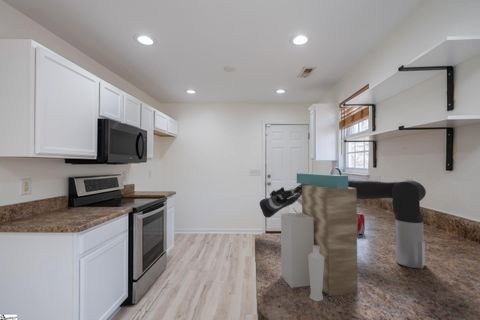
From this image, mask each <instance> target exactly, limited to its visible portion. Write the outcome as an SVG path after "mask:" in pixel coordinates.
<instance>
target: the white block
mask: <svg viewBox="0 0 480 320" xmlns="http://www.w3.org/2000/svg"><path fill="white" fill-rule="evenodd" d="M280 221H281V222H280V224H281V225H280V229H281V230H280V232H281V233H280V236H281V240H280V245H281V246H280V247H281V249H280V255H281V256H280V258H281V259H280V260H281V261H280V264H281V265H280V268H281V269H280V270H281V271H280V277H281V278H282V279H283V281H284V282H286V283H287V284H288V286H289V287H290V288H291V289H293V288H300V287H308V286H310V274H309V260H308V255H309V254H310V253H312V252H313V247H312V246H313V245H314V217H311V216H309V215H306V214H304V213H302V212H291V213H290V212H289V213H287V212H286V213H281V214H280Z"/></svg>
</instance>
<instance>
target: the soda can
mask: <svg viewBox="0 0 480 320" xmlns="http://www.w3.org/2000/svg"><path fill="white" fill-rule="evenodd" d="M365 222H366V220H365V214H364V212H360V211H357V234H362V235H364V234H365V232H366V231H365V226H366V225H365V224H366V223H365Z"/></svg>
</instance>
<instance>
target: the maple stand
mask: <svg viewBox="0 0 480 320" xmlns="http://www.w3.org/2000/svg"><path fill="white" fill-rule="evenodd" d="M357 200H358V199H357V197H356V188H350V187H348V189H335V188H328V187H321V186H314V185H302V194H301V211H302V212H301V213H304V214H306V215H309V216H311V217H314V245H318V246H319V247H320V248H319V253H320V254H321V255H323V256H324V272H323V286H322V292H324V293H325V294H327V295H328V297H333V296H339V295H345V294H351V293H352V294H353V293H358V291H359V290H358V289H359V287H358V235H357V212H358V210H357V209H358V208H357V207H358V206H357V205H358V204H357Z"/></svg>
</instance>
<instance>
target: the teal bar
mask: <svg viewBox="0 0 480 320" xmlns="http://www.w3.org/2000/svg"><path fill="white" fill-rule="evenodd" d="M348 180H349V175H341V174H327V173H326V174H325V173H324V174H323V173H322V174H321V173H308V172H307V173H305V172H304V173H303V172H302V173H296V184H299V185H301V184H307V185H314V186H321V187H328V188H335V189H348Z"/></svg>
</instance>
